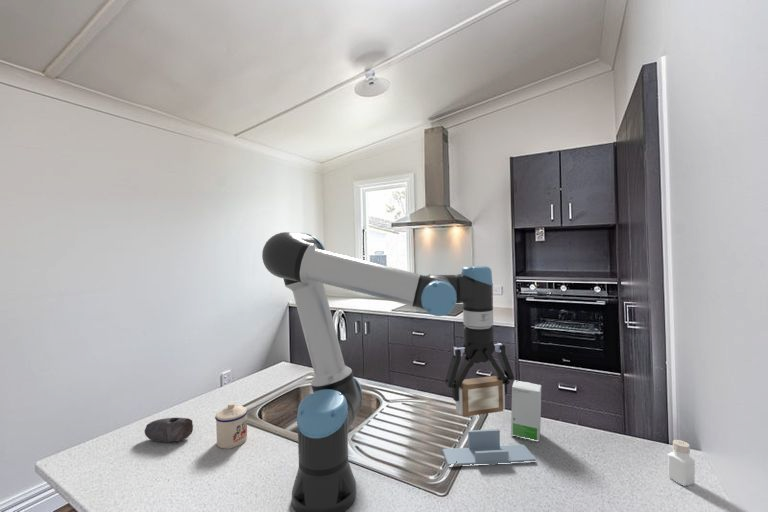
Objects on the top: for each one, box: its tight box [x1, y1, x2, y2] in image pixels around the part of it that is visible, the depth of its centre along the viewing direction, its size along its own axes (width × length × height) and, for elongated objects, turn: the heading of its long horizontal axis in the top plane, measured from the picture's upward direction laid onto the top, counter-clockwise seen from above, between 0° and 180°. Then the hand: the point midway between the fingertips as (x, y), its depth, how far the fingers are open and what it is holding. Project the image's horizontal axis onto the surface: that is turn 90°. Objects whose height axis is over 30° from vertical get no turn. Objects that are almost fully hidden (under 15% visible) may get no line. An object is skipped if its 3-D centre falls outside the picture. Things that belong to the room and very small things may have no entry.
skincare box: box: [510, 379, 542, 441], centre depth 109 cm, size 8×7×16 cm
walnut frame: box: [460, 375, 504, 418], centre depth 91 cm, size 11×4×8 cm, turn 102°
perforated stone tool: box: [144, 417, 194, 443], centre depth 110 cm, size 15×5×7 cm, turn 83°
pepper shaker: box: [667, 439, 696, 487], centre depth 87 cm, size 4×4×10 cm
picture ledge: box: [442, 428, 537, 467], centre depth 98 cm, size 24×7×6 cm, turn 93°
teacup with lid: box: [214, 402, 248, 449], centre depth 110 cm, size 12×9×12 cm
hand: (480, 409), depth 92 cm, fingers closed on walnut frame, 11 cm apart
